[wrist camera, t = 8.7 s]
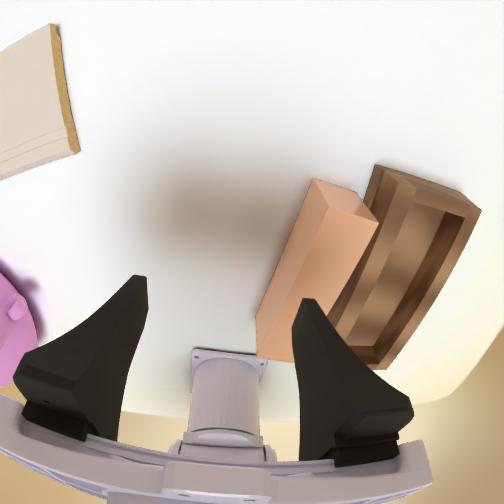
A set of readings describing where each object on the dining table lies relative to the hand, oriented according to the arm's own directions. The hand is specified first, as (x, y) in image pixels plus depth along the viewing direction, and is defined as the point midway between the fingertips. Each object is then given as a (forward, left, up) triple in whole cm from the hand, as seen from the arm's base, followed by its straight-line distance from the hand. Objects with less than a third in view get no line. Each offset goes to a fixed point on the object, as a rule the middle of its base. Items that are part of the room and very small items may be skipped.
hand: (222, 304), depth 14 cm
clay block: (-4, -6, -10) cm, 12 cm away
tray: (-4, -14, -10) cm, 18 cm away
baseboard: (+11, +30, -9) cm, 33 cm away
